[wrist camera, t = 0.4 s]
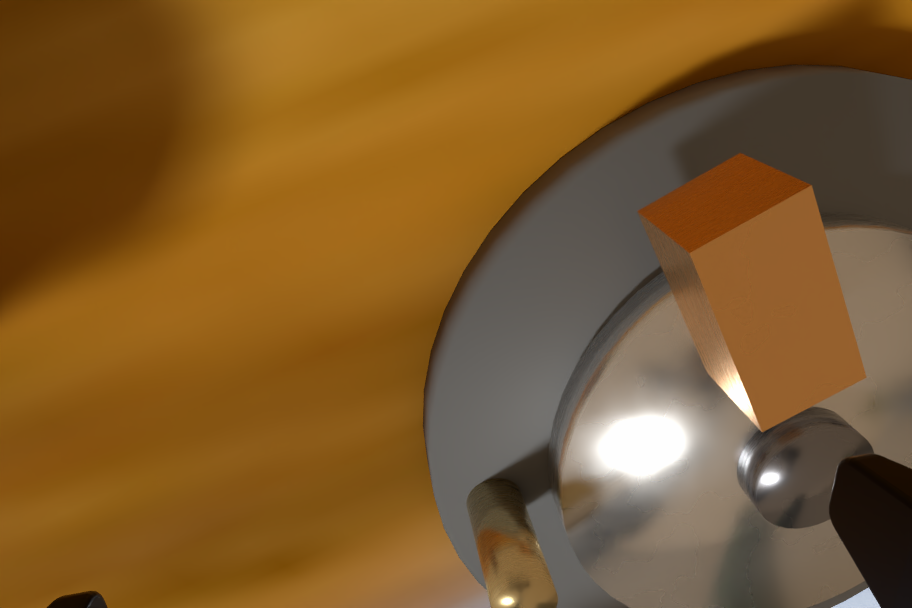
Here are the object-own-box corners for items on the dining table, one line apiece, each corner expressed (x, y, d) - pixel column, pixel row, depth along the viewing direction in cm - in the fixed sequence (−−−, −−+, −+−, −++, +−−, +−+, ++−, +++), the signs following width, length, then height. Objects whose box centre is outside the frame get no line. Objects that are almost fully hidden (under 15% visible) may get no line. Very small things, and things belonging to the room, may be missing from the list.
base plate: (960, 542, 33) (996, 575, 31) (472, 664, 31) (480, 706, 29) (1101, 2, 22) (1169, 5, 20) (358, 143, 20) (360, 160, 18)
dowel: (524, 514, 25) (560, 620, 21) (470, 527, 25) (496, 635, 21) (518, 472, 24) (555, 574, 20) (462, 485, 24) (488, 590, 20)
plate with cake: (1002, 467, 27) (1120, 555, 23) (644, 647, 29) (696, 760, 24) (925, 16, 18) (1092, 28, 14) (417, 306, 20) (438, 392, 16)
